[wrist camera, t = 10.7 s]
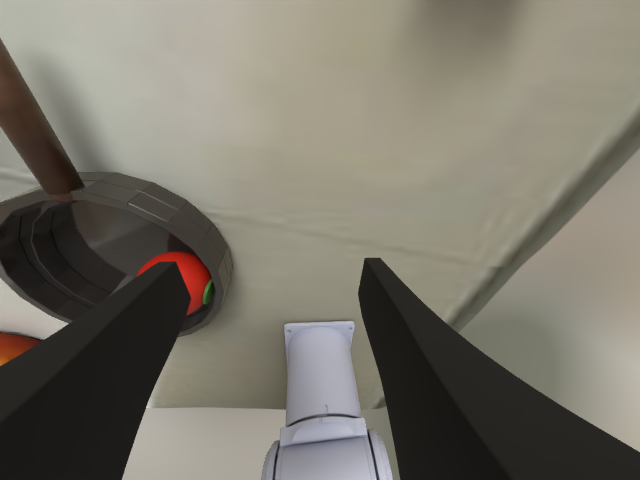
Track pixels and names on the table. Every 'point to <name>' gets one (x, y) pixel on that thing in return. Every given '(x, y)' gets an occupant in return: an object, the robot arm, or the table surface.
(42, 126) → the pan handle
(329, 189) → the table surface
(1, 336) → the fruit
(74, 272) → the pan
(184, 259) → the tomato
